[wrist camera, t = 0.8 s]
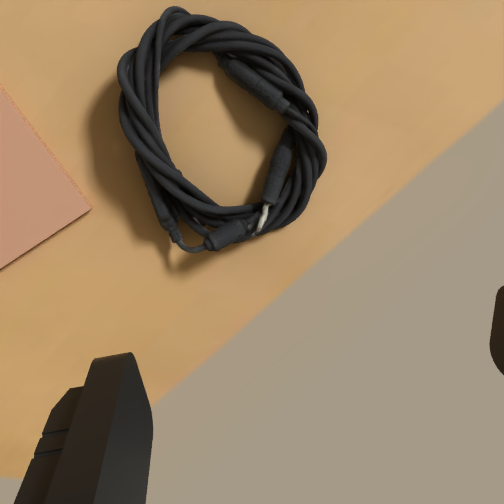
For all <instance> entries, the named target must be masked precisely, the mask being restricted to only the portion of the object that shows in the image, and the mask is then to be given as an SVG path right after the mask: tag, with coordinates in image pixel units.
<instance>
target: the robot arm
mask: <svg viewBox="0 0 504 504" xmlns="http://www.w3.org/2000/svg"><path fill="white" fill-rule="evenodd" d="M490 352H491V356H492V358H493V361H494V363H495V365H496V366H497V368H498V369H499V370H500V372H501V373H502V374H503V375H504V286H502V287H501V288H500V289H499V290H498V292H497V295H496V302H495V309H494V315H493V322H492V329H491V336H490ZM152 440H153V420H152V412H151V407H150V404H149V400H148V397H147V394H146V391H145V388H144V385H143V381H142V378H141V375H140V372H139V369H138V366H137V362H136V360H135V357H134V355H133V354H132V353H131V352H128V353H123V354H117V355H112V356H106V357H101V358H95V359H94V360H93V361H92V363H91V366H90V369H89V372H88V375H87V378H86V381H85V384H84V386H81V387H76V388H70V389H69V390H68V391H67V393H66V394H65V395H64V396H63V397H62V398H61V400H60V401H59V402H58V403H57V404H56V405H55V407H54V408H53V409H52V410H51V413H50V415H49V418H48V420H47V423H46V425H45V427H44V430H43V432H42V438H40V440H39V442H38V445H37V447H36V450H35V452H34V459H32V460H31V462H30V465H29V467H28V470H27V472H26V474H25V477H24V479H23V482H22V484H21V487H20V489H19V492H18V494H17V497H16V499H15V502H14V504H145V503H146V494H147V485H148V476H149V466H150V458H151V448H152Z"/></svg>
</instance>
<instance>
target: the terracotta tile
mask: <svg viewBox="0 0 504 504" xmlns="http://www.w3.org/2000/svg"><path fill="white" fill-rule="evenodd" d="M91 209H92V207H91V205H90V204H89V203H88V201H87V200H86V199H85V197H84V196H83V195H82V193H81V192H80V191H79V189H78V188H77V187H76V185H75V184H74V183H73V181H72V180H71V179H70V177H69V176H68V175H67V173H66V172H65V171H64V169H63V168H62V167H61V165H60V164H59V163H58V161H57V160H56V159H55V157H54V156H53V155H52V153H51V152H50V151H49V149H48V148H47V147H46V145H45V144H44V143H43V141H42V140H41V139H40V138H39V136H38V135H37V134H36V132H35V131H34V130H33V128H32V127H31V126H30V124H29V123H28V122H27V120H26V119H25V118H24V116H23V115H22V114H21V112H20V111H19V110H18V108H17V107H16V106H15V104H14V103H13V102H12V100H11V99H10V98H9V96H8V95H7V94H6V92H5V91H4V90H3V88H2V87H1V86H0V269H1V268H2V267H4V266H6V265H7V264H9V263H10V262H12V261H13V260H15V259H16V258H18V257H19V256H21V255H22V254H24V253H25V252H27V251H28V250H30V249H31V248H33V247H34V246H36V245H37V244H39V243H40V242H42V241H43V240H45V239H47V238H48V237H50V236H51V235H53V234H54V233H56V232H57V231H59V230H60V229H62V228H63V227H65V226H66V225H68V224H69V223H71V222H72V221H74V220H75V219H77V218H78V217H80V216H81V215H83V214H85V213H86V212H88V211H89V210H91Z"/></svg>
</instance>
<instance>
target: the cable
mask: <svg viewBox="0 0 504 504" xmlns="http://www.w3.org/2000/svg"><path fill="white" fill-rule="evenodd" d="M182 34H187V35H183V36H181V37H179V38H177V39H174V40H170V38H171V37H172V36H174V35H182ZM207 51H212V52H213V53H214V54H215V55H216V57H217V58H218V59H219V62H218V64H219V66H220V67H222V68H223V69H224V70H225V73H226V75H227V76H229V77H230V78H231V79H233V80H234V81H235V82H236V83H238V84H239V85H240V86H241V87H243V88H244V89H245V90H247V91H248V92H249V93H250V94H252V95H253V96H254V97H256V98H257V99H258V100H260V101H261V102H262V103H263V104H264V105H266V106H267V107H268V108H270V109H276V110H277V111H278V112H279V113H280V115H281V116H282V117H283V118H284V119H285V120H286V121H287V123H288V128H287V129H285V130H284V132H283V135H282V137H281V140H280V142H279V145H278V146H277V147H276V149H275V151H274V154H273V156H272V159H271V161H270V168H269V171H268V174H267V177H266V180H265V183H264V187H263V191H262V194H261V198H260V199H261V201H262V202H258V203H254V204H249V205H243V206H232V207H231V206H230V207H223V206H219V205H218V204H216V203H215V202H214V201H213V200H212V199H210V198H209V197H208V196H206V195H205V194H204V193H203V192H202V191H200V190H199V189H198V188H197V187H195V186H194V185H193V184H192V183H190V182H189V181H188V180H187V179H185V178H184V177H183V175H182V173H181V171H180V170H177V169H176V167H175V165H174V164H173V162H172V161H171V158H170V156H169V153H168V151H167V148H166V146H165V144H164V142H163V140H162V135H161V130H160V122H159V112H158V88H159V76H160V73H161V72H162V71H163V70H164V68H165V67H166V66H167V65H168V64H169V63H170V62H171V61H172V60H173V59H174V58H175V57H177V56H178V55H179V54H180V53H181V52H207ZM117 77H118V81H119V84H120V86H121V89H122V90H121V94H120V99H119V119H120V123H121V126H122V129H123V131H124V133H125V135H126V138H127V139H128V140H129V142H130V143H131V145H132V146H133V148H134V149H135V156H136V160H137V163H138V166H139V168H140V171H141V173H142V177H143V179H144V182H145V185H146V187H147V190H148V193H149V196H150V198H151V201H152V204H153V206H154V209H155V212H156V214H157V217H158V219H159V222H160V224H161V226H162V227H163V228H164V229H165V230H166V231H169V236H170V237H171V239H172V242H173V243H177V245H178V246H179V247H180V248H181V249H182V250H184V251H186V252H189V253H197V252H201V251H204V250H206V249H207V250H208V251H219V250H221V249H222V248H224V247H226V246H228V245H230V244H232V243H239V242H243V241H245V240H248V239H250V238H252V237H254V236H258V235H262V234H265V233H267V232H269V231H271V230H275V229H279V228H282V227H284V226H286V225H288V224H290V223H292V222H293V221H294V220H296V219H297V218H298V217H299V216H300V215H301V214H302V212H303V211H304V209H305V208H306V206H307V204H308V201H309V199H310V196H311V193H312V191H313V190H314V187H315V185H316V182H317V180H318V178H319V177H320V176H321V174H322V173H323V171H324V169H325V166H326V162H327V153H326V149H325V147H324V145H323V143H322V142H321V140H320V139H319V137H318V132H317V130H318V114H317V110H316V107H315V105H314V103H313V101H312V100H311V98H310V97H309V96H308V95H307V94H306V93H305V89H304V85H303V82H302V79H301V77H300V75H299V73H298V71H297V69H296V68H295V66H294V65H293V64H292V62H291V61H290V60H289V59H288V58H287V57H286V56H285V55H284V53H283V52H282V51H281V50H280V49H279V48H278V47H277V46H275V45H274V44H273V43H271V42H270V41H268V40H266V39H264V38H262V37H260V36H257V35H253V34H252V33H250V32H249V31H248V30H247V29H246V28H245V27H243V26H241V25H240V24H237V23H235V22H231V21H219V20H217V19H215V18H212V17H209V16H205V15H196V14H195V15H191V14H190V13H189V12H187V11H186V10H185V9H183V8H181V7H178V6H172V7H169V8H167V9H166V10H165V11H164V12H163V14H162V15H161V17H160V19H159V20H157V21H155V22H154V23H153V24H152V25H151V26H150V27H149V28H148V29H147V30H146V32H145V33H144V35H143V36H142V38H141V41H140V43H139V46H138V47H136V48H133V49H131V50H129V51H128V52H126V53H125V54H124V55H123V56H122V57H121V59H120V60H119V63H118V66H117ZM307 110H308V112H309V113H308V112H307ZM295 143H296V144H297V147H296V150H297V154H296V165H295V167H294V169H293V171H292V173H291V175H290V177H289V179H288V180H287V182H286V184H285V186H284V188H283V190H282V192H281V189H282V186H283V183H284V179H285V176H286V174H287V171H288V169H289V167H290V163H291V159H292V149H293V146H294V144H295ZM280 192H281V194H280ZM279 194H280V195H279ZM180 217H182V219H183V220H184V221H185V222H186V223H187V224H188V225H189V226H190V227H191V228H192V229H193V230H194V231H195V232H197V233H198V234H199V235H201V236H203V237H204V238H205V239H204V242H203V245H201V246H197V247H188V246H187V245H185V244H184V243H183V242H182V239H183V238H182V236H181V234H180V232H179V229H178V220H179V219H180ZM206 225H209V226H212V227H215V228H217V229H216V230H214V231H212V232H210V231H208V230H207V229H205V228H204V227H206Z"/></svg>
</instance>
